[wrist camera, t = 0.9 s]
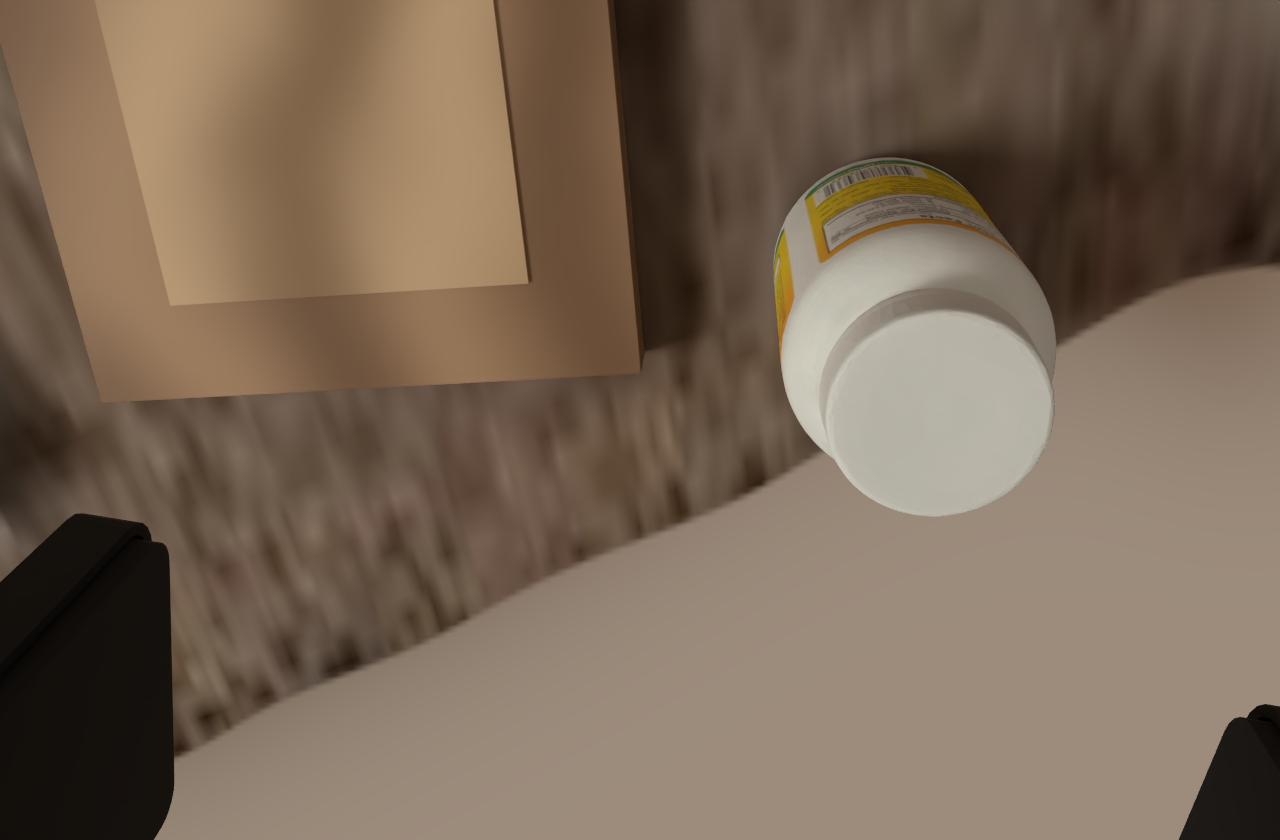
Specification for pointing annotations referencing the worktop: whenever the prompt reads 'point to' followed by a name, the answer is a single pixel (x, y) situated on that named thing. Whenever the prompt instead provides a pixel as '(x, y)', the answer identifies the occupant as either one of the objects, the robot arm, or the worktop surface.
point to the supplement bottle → (913, 338)
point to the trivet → (333, 190)
